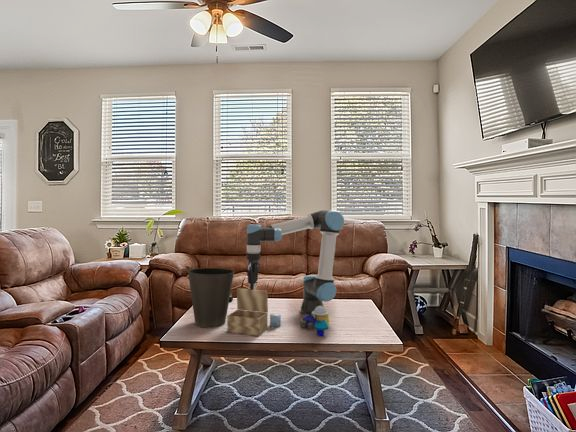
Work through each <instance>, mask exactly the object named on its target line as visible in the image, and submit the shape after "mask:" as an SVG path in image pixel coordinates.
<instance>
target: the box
mask: <svg viewBox="0 0 576 432" xmlns="http://www.w3.org/2000/svg"><path fill="white" fill-rule="evenodd" d="M226 322H227V325H226V329H227V330H226V331H227V333H226V334H232V335H233V334H234V335H235V334H236V335H243V336H251V337H257V338H258V337H260V336H262V335H263V334H264V333H265V332H266V331H267V330H268V327H269V326H268V313H267V312H257V311H247V310H237V309H236V310H234V311H233V312H232V313H230V314H227V316H226Z"/></svg>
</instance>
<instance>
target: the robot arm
mask: <svg viewBox="0 0 576 432" xmlns="http://www.w3.org/2000/svg"><path fill="white" fill-rule="evenodd" d="M344 225H345V218H344V216H343V214H342V213H341V212H340V211H338V210H335V209H323V210H319V211H315V212H311V213H308V214H307V215H306V216H303V217H299V218H295V219H291V220H290V219H289V220H285V221H282V222H277V223H273V224H270V225H269V224H268V225H265V226H261V224H253V223H251V224H248V225H247V227H246V228H247V229H246V260H247V261H248V266H247V265H246V267H245V268H246V273H247V283H248V284H249V289H251V290H256V284H257V283H258V279H259V270H260V263H259V262H258V261H259V260H260V259H261V253H260V252H261V242H265V243H266V242H270V243H271V242H274V243H276V242H280V241H281V240H282V236H283V235H287V234H291V233H292V234H293V233H295V232H299V231H300V232H301V231H303V230H308V229H310V230H314V229H319V230H320V231H319V232H320V234H321V244H320V253H319V258H318V259H319V261H318V269H317V274H309V275H304V276H303V282H302V283H303V285H302V286H303V288H302V289H303V291H302V292H303V297H302V298H303V299H302V302H301V305H300V313H302V314H303V315H309V314H310V315H311V313H312V312H313V311H314V310H315V308H316V307H317V306H323V307H324V308H325V306H324V303H323V302H330V301H332V300H333V299H334V298H335V296H336V294H337V287H336V286H335V284H334V283H335V278H334V276H333V270H334V269H333V268H334V261H335V252H336V244H337V243H336V242H337V236H339V235H340V232H341V229H343V227H344Z"/></svg>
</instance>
